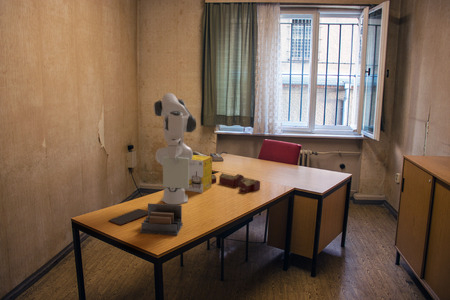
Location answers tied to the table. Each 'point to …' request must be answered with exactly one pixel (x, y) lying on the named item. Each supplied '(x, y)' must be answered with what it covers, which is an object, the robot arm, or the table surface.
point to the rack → (163, 228)
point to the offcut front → (160, 220)
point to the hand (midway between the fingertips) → (175, 163)
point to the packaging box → (200, 173)
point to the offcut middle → (163, 215)
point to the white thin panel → (176, 173)
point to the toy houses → (238, 182)
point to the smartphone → (129, 217)
